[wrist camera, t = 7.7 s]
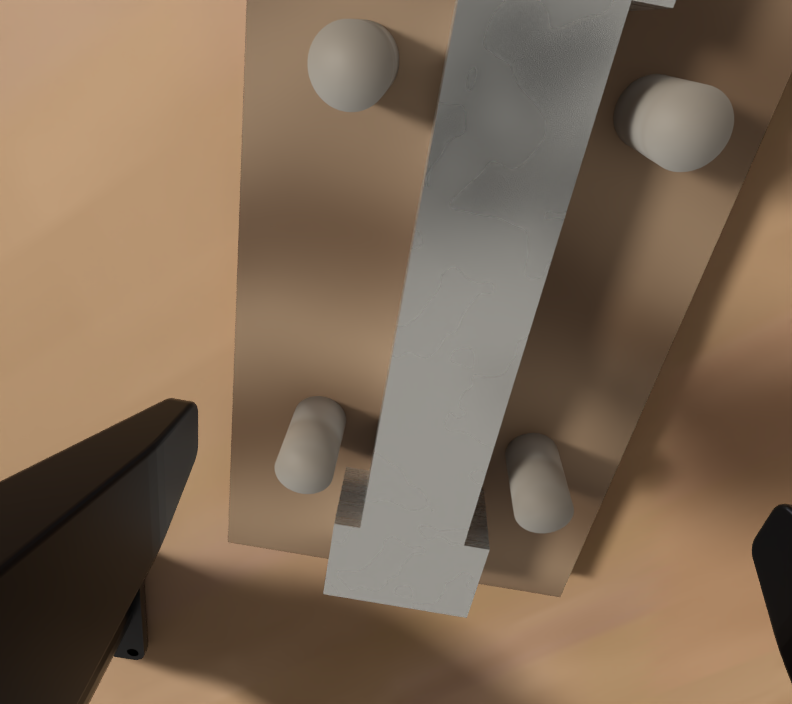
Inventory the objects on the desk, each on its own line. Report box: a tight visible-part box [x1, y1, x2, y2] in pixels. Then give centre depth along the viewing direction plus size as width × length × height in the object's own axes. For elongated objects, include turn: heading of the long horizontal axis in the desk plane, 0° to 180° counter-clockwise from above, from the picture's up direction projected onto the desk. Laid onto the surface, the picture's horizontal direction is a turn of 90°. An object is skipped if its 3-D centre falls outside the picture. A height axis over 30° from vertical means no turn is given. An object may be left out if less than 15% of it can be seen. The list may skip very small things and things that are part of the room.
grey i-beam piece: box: [323, 0, 676, 618], centre depth 15 cm, size 20×4×2 cm, turn 171°
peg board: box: [228, 0, 792, 597], centre depth 16 cm, size 22×12×4 cm, turn 171°
